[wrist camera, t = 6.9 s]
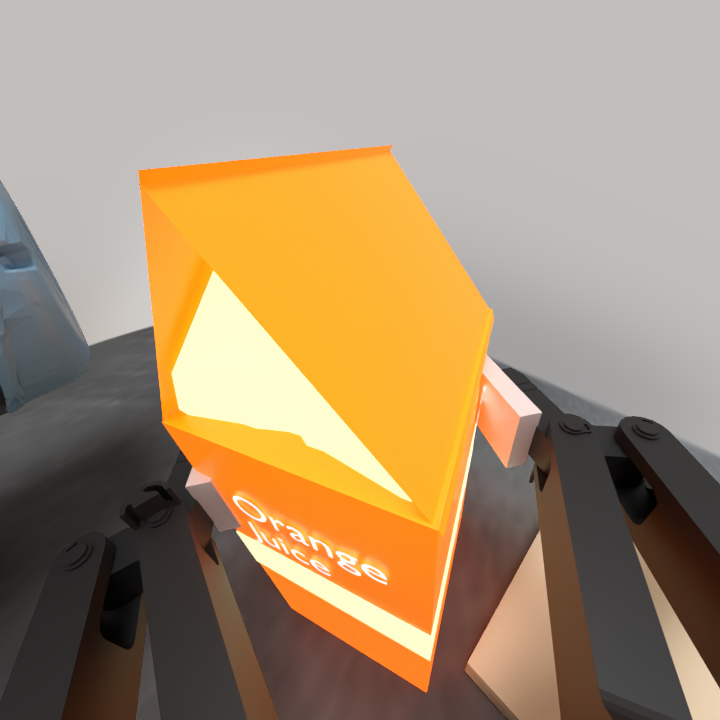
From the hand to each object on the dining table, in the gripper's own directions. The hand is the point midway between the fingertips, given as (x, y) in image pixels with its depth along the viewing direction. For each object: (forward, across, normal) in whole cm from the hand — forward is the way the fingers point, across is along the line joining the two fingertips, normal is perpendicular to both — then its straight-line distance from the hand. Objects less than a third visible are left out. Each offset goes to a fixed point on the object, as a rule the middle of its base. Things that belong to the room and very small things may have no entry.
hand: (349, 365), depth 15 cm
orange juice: (-5, 0, -11) cm, 12 cm away
